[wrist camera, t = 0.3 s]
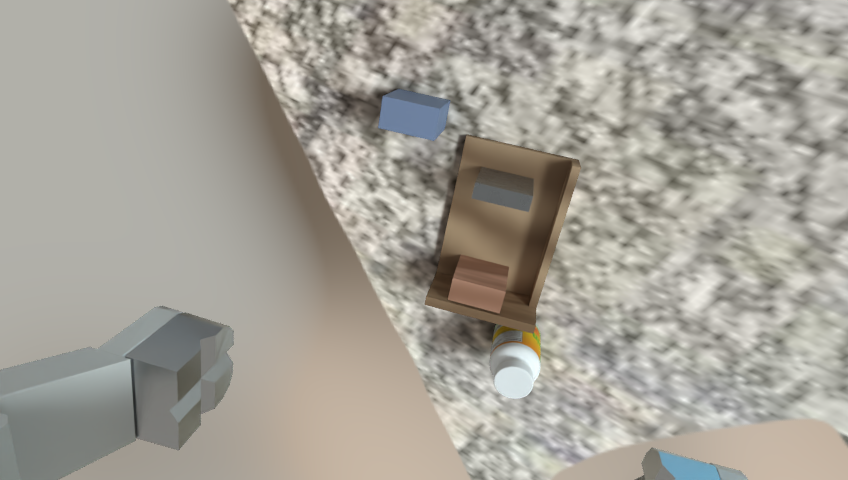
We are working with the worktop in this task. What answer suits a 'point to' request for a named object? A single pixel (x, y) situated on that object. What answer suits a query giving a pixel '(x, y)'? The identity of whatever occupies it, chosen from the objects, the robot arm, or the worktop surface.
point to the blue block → (413, 114)
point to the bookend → (504, 189)
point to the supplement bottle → (515, 360)
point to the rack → (502, 236)
